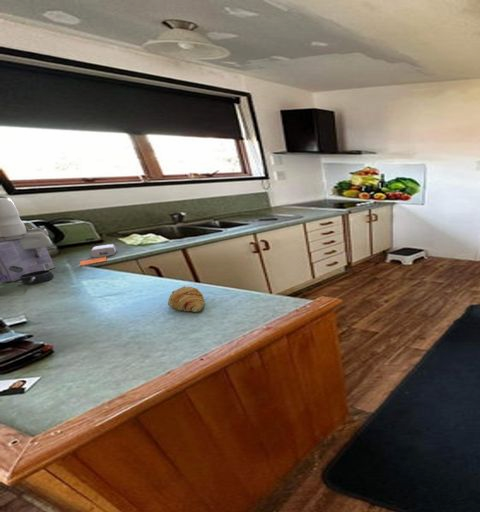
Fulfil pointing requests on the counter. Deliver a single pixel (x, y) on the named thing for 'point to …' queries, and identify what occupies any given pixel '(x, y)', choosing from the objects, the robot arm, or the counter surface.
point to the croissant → (186, 299)
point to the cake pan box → (21, 261)
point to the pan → (37, 276)
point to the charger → (103, 250)
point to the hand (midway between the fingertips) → (24, 259)
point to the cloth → (93, 261)
